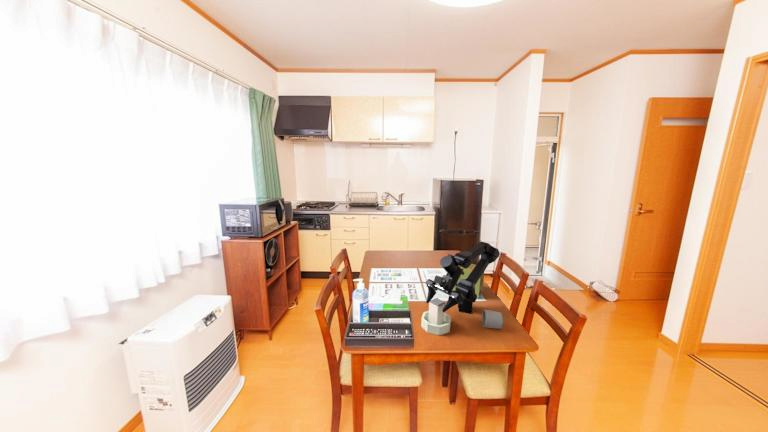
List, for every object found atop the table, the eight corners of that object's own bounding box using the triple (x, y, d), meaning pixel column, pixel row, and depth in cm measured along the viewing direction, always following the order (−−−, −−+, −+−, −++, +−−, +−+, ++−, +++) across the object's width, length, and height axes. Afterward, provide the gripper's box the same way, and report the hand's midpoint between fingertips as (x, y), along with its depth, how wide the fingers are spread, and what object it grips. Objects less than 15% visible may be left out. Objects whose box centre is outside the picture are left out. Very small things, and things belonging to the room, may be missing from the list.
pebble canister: (435, 319, 123) (436, 297, 121) (443, 324, 119) (445, 302, 117) (428, 323, 120) (429, 300, 118) (436, 328, 116) (437, 305, 114)
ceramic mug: (503, 332, 115) (505, 316, 114) (484, 330, 117) (485, 314, 115) (497, 319, 126) (499, 304, 124) (479, 317, 127) (481, 302, 126)
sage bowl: (451, 320, 124) (451, 313, 123) (448, 337, 112) (449, 328, 111) (424, 315, 128) (425, 308, 127) (419, 330, 116) (419, 322, 115)
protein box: (479, 299, 144) (481, 272, 141) (451, 292, 152) (452, 266, 149) (483, 291, 152) (485, 266, 149) (456, 285, 160) (458, 260, 157)
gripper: (428, 262, 124) (411, 291, 120) (462, 275, 110) (443, 308, 105) (439, 274, 131) (422, 301, 126) (472, 288, 116) (454, 319, 112)
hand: (434, 307), depth 117 cm, fingers open, 9 cm apart
